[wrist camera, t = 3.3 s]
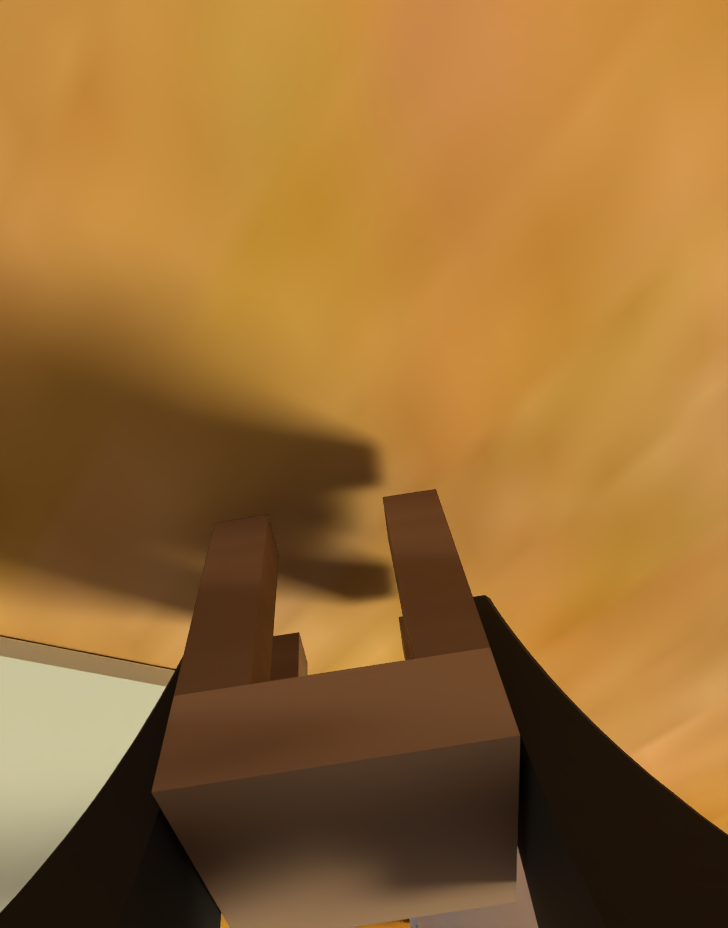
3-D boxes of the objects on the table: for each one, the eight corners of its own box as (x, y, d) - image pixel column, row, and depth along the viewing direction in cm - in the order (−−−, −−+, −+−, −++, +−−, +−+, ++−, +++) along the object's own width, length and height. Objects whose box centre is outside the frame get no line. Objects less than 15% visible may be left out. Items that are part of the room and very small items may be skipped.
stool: (447, 641, 15) (516, 901, 10) (263, 670, 15) (240, 944, 10) (435, 489, 13) (519, 735, 8) (214, 522, 13) (150, 792, 8)
